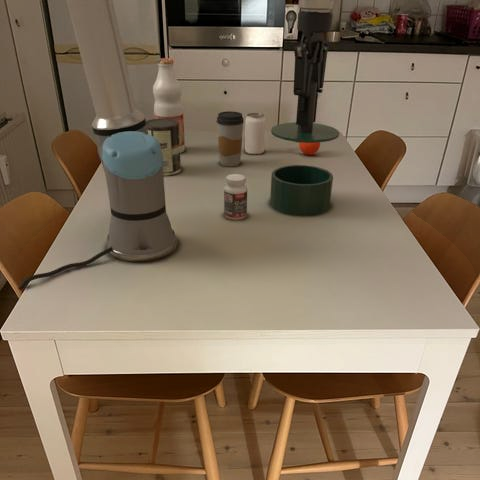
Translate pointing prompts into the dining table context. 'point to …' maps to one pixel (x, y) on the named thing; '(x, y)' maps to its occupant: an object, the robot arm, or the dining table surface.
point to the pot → (301, 190)
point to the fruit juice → (168, 97)
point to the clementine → (309, 148)
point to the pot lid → (309, 132)
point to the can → (254, 133)
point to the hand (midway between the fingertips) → (305, 122)
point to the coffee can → (167, 143)
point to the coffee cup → (230, 137)
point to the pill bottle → (235, 197)
